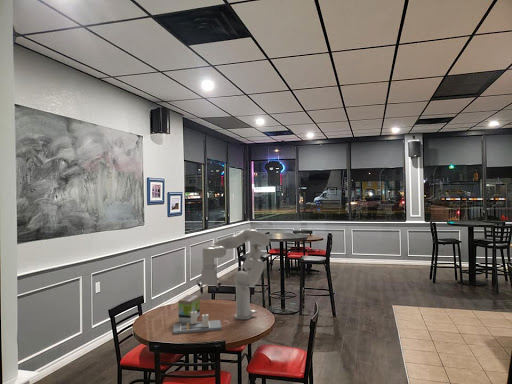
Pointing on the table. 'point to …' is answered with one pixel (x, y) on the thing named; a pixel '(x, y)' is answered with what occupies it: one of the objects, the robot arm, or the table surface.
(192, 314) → the tab
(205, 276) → the robot arm
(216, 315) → the table surface
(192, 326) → the console
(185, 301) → the tea box
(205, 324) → the block
